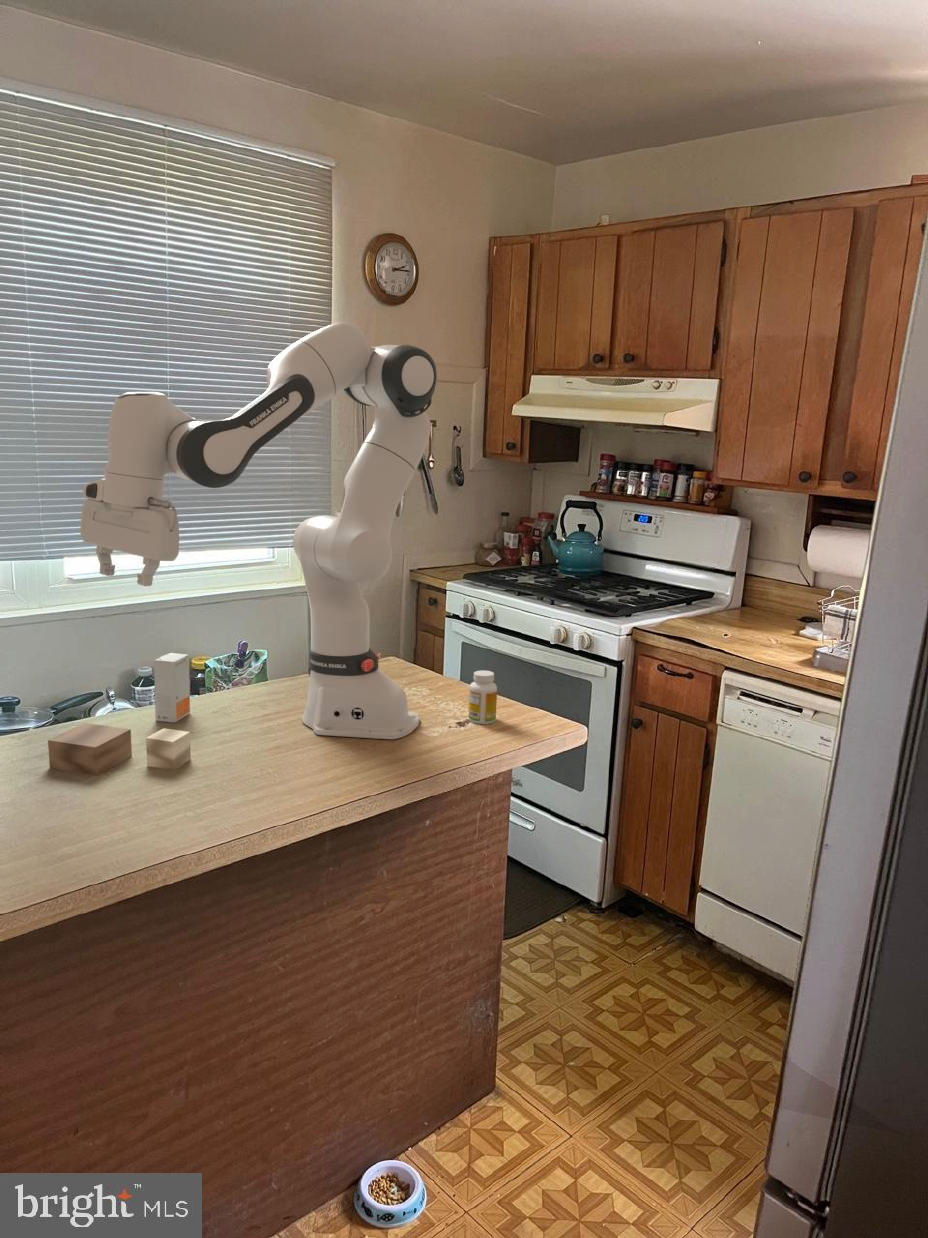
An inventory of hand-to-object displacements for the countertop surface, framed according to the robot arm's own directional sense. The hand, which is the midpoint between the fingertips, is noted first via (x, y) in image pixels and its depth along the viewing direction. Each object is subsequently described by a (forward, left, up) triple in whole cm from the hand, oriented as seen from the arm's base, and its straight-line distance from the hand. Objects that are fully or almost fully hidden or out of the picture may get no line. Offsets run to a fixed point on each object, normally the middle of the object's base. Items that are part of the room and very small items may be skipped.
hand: (125, 580), depth 144 cm
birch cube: (-6, -1, -31) cm, 31 cm away
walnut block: (+6, +3, -31) cm, 32 cm away
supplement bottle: (-50, -41, -31) cm, 72 cm away
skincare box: (+6, -21, -31) cm, 38 cm away
